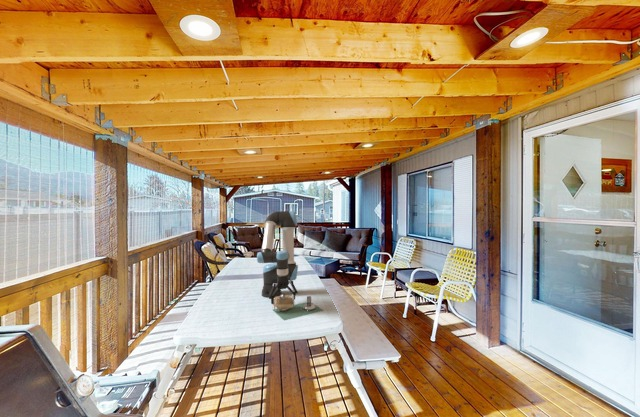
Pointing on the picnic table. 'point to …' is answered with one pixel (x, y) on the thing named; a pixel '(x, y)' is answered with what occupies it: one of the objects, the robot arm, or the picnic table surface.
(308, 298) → the hub
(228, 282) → the picnic table surface
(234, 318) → the picnic table surface
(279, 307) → the square wooden frame
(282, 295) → the stand
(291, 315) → the mat
